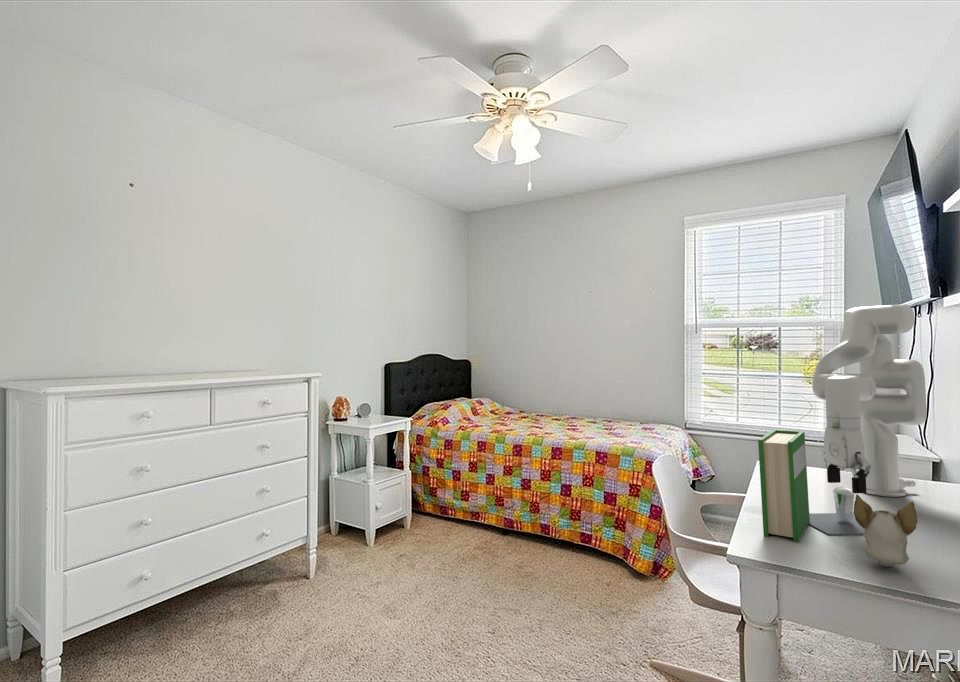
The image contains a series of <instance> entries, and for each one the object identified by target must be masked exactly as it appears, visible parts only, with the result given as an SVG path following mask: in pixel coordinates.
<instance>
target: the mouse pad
mask: <svg viewBox="0 0 960 682" xmlns="http://www.w3.org/2000/svg"><path fill="white" fill-rule="evenodd" d="M809 517H810V522H809V524H808V526H810V527H812V528H814V529H816V530H817V531H818V532H821V533H823V534H824V535H826V536H864V534H865V530H864V528H863V527H862V526H860V525H859V524H858V522H857V521H856V519H855V515H854V513H853V514H852V524H843V523H839V522H838V521H837V515H836V512H832V513H831V512H830V513H829V512H827V513H826V512H823V513H820V512H819V513H818V512H817V513H812V512H811V513H809ZM910 535H911V534H909V535H908V536H910Z"/></svg>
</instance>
